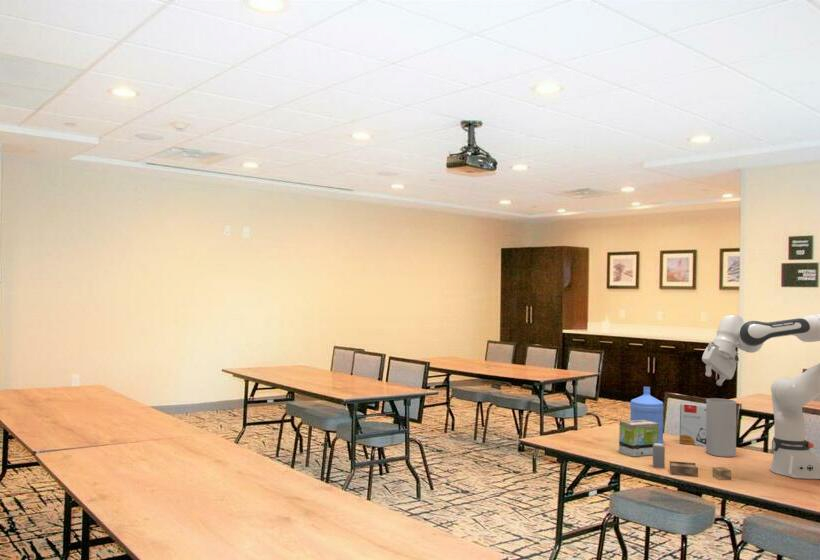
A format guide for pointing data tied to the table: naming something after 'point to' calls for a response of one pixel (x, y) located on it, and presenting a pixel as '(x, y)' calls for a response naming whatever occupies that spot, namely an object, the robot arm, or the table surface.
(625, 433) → the tea box
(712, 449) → the cylinder vase
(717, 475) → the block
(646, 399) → the water jug
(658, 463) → the block
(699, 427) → the hard drive box
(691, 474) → the stand
